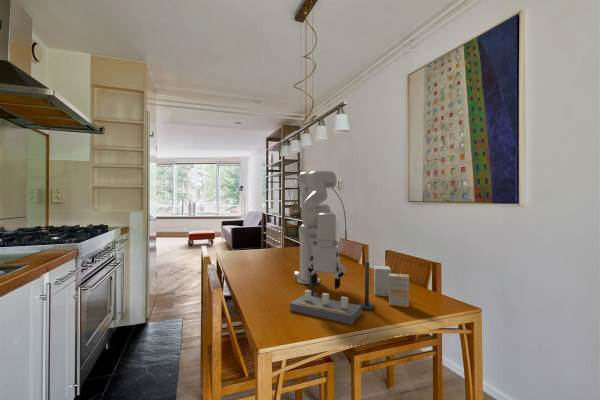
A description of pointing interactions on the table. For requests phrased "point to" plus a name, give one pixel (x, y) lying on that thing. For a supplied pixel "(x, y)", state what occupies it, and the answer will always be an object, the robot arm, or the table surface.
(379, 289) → the supplement box
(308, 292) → the paddle left
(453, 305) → the table surface
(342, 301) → the paddle right
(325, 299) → the paddle mid
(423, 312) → the table surface
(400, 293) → the supplement box
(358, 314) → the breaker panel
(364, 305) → the cord posts
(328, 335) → the table surface
